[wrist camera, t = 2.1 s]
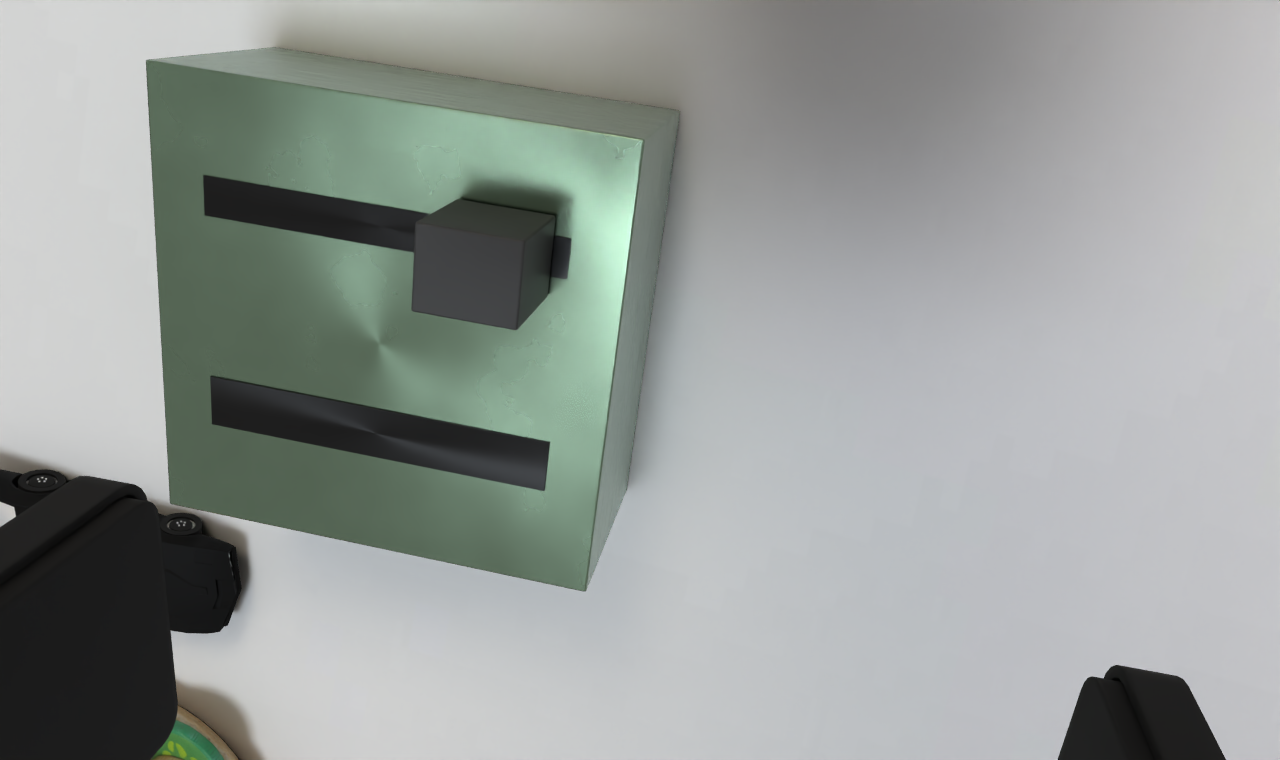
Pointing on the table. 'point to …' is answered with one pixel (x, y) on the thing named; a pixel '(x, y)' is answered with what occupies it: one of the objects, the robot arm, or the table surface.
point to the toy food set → (193, 741)
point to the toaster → (399, 305)
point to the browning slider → (482, 263)
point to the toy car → (191, 560)
